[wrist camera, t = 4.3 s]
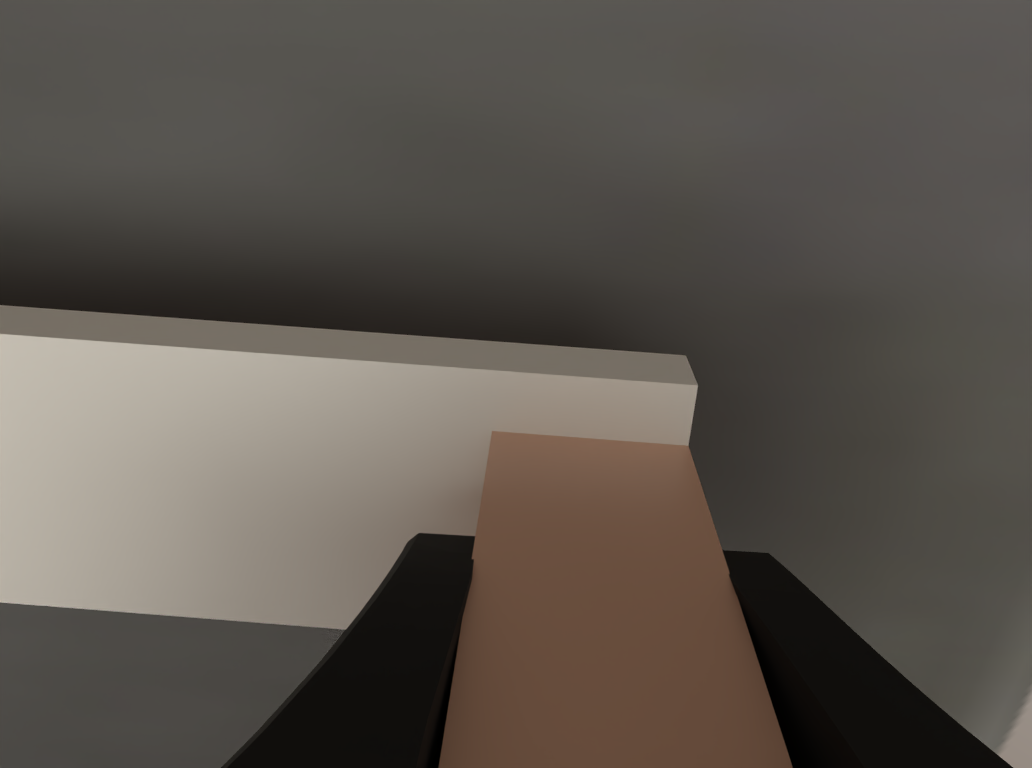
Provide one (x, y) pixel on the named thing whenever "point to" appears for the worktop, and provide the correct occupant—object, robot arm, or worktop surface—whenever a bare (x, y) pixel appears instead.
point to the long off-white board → (395, 515)
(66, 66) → the worktop surface
